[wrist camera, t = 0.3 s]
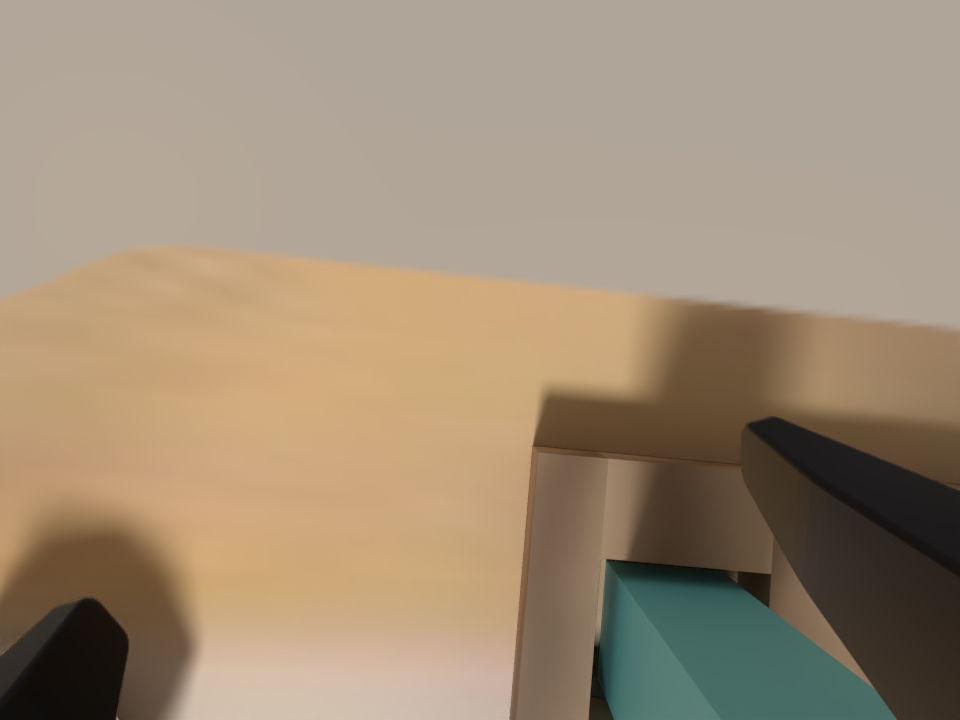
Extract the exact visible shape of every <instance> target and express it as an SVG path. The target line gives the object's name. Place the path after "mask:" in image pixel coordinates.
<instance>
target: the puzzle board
mask: <svg viewBox="0 0 960 720" xmlns="http://www.w3.org/2000/svg"><path fill="white" fill-rule="evenodd" d="M943 484H945V485H948V486H950V487H953V488H955V489H958V490H960V485H959V484H948V483H943ZM601 558H603V559H614V560H624V561H635V562H646V563H657V564H667V565H678V566H689V567H700V568H711V569H721V570H732V571H739V575H738V585H739V586H740V587H742V588H743V589H744V590H746V591H747V592H748V593H750V594H751V595H752V596H753V597H755V598H756V599H757V600H759V601H760V602H761V603H763V604H764V605H765V606H767V607H768V608H769V609H771V610H772V611H773V612H774V613H776V614H777V615H778V616H780V617H781V618H782V619H784V620H785V621H786V622H788V623H789V624H790V625H791V626H793V627H794V628H795V629H797V630H798V631H799V632H801V633H802V634H803V635H805V636H806V637H807V638H809V639H810V640H811V641H812V642H814V643H815V644H816V645H818V646H819V647H820V648H822V649H823V650H824V651H826V652H827V653H828V654H829V655H831V656H832V657H833V658H835V659H836V660H837V661H839V662H840V663H841V664H843V665H844V666H845V667H847V668H848V669H849V670H850V671H852V672H853V673H854V674H856V675H857V676H858V677H860V678H861V679H862V680H864V681H865V682H866V683H868V684H869V685H870V686H871V687H873V686H872V684H871V683H870V681H869V680H868V679H867V677H866V676H865V674H864V673H863V671H862V670H861V669H860V667H859V666H858V664H857V663H856V662H855V660H854V659H853V657H852V656H851V655H850V653H849V652H848V650H847V649H846V647H845V646H844V645H843V643H842V642H841V640H840V639H839V638H838V636H837V635H836V633H835V632H834V631H833V629H832V628H831V626H830V625H829V623H828V622H827V621H826V619H825V618H824V616H823V615H822V614H821V612H820V611H819V609H818V608H817V606H816V605H815V604H814V602H813V601H812V599H811V598H810V596H809V595H808V593H807V592H806V590H805V589H804V587H803V586H802V584H801V583H800V581H799V579H798V578H797V576H796V574H795V573H794V571H793V569H792V567H791V566H790V564H789V562H788V560H787V558H786V557H785V555H784V553H783V551H782V550H781V548H780V546H779V544H778V542H777V541H776V539H775V537H774V535H773V533H772V532H771V530H770V528H769V526H768V525H767V523H766V521H765V519H764V517H763V516H762V514H761V512H760V510H759V508H758V507H757V505H756V503H755V501H754V500H753V498H752V496H751V494H750V492H749V491H748V489H747V487H746V485H745V483H744V480H743V477H742V473H741V465H739V464H728V463H717V462H706V461H695V460H684V459H673V458H662V457H651V456H640V455H629V454H618V453H607V452H596V451H585V450H574V449H563V448H552V447H541V446H533V447H532V459H531V471H530V483H529V495H528V506H527V518H526V530H525V542H524V554H523V566H522V578H521V590H520V601H519V613H518V625H517V637H516V649H515V661H514V673H513V685H512V696H511V708H510V720H614V718H613V715H612V713H611V710H610V708H609V705H608V703H607V700H606V698H597V697H590V692H591V679H592V666H593V654H594V641H595V628H596V615H597V602H598V589H599V576H600V563H601ZM873 688H874V687H873ZM874 689H875V688H874Z"/></svg>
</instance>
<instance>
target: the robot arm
mask: <svg viewBox="0 0 960 720" xmlns="http://www.w3.org/2000/svg"><path fill="white" fill-rule="evenodd" d="M741 473H742V477H743V480H744V483H745V485H746V487H747V489H748V491H749V492H750V494H751V496H752V498H753V500H754V501H755V503H756V505H757V507H758V508H759V510H760V512H761V514H762V516H763V517H764V519H765V521H766V523H767V525H768V526H769V528H770V530H771V532H772V533H773V535H774V537H775V539H776V541H777V542H778V544H779V546H780V548H781V550H782V551H783V553H784V555H785V557H786V558H787V560H788V562H789V564H790V566H791V567H792V569H793V571H794V573H795V574H796V576H797V578H798V579H799V581H800V583H801V584H802V586H803V587H804V589H805V590H806V592H807V593H808V595H809V596H810V598H811V599H812V601H813V602H814V604H815V605H816V606H817V608H818V609H819V611H820V612H821V614H822V615H823V616H824V618H825V619H826V621H827V622H828V623H829V625H830V626H831V628H832V629H833V631H834V632H835V633H836V635H837V636H838V638H839V639H840V640H841V642H842V643H843V645H844V646H845V647H846V649H847V650H848V652H849V653H850V655H851V656H852V657H853V659H854V660H855V662H856V663H857V664H858V666H859V667H860V669H861V670H862V671H863V673H864V674H865V676H866V677H867V679H868V680H869V681H870V683H871V684H872V686H873V687H874V688H875V690H876V691H877V693H878V694H879V695H880V697H881V698H882V700H883V701H884V703H885V704H886V705H887V707H888V708H889V710H890V711H891V712H892V714H893V715H894V717H895V718H896V719H897V720H960V490H958V489H955V488H953V487H950V486H948V485H945V484H943V483H940V482H938V481H935V480H933V479H930V478H928V477H925V476H923V475H921V474H918V473H916V472H913V471H911V470H908V469H906V468H903V467H901V466H898V465H896V464H893V463H891V462H888V461H886V460H883V459H881V458H878V457H876V456H873V455H871V454H868V453H866V452H863V451H861V450H858V449H856V448H853V447H851V446H848V445H846V444H843V443H841V442H838V441H836V440H833V439H831V438H828V437H826V436H823V435H821V434H818V433H816V432H813V431H811V430H808V429H806V428H803V427H801V426H798V425H796V424H793V423H791V422H788V421H786V420H783V419H781V418H778V417H766V418H762V419H759V420H755V421H751V422H748V423H746V424H744V426H743V427H742V431H741ZM128 653H129V639H128V635H127V633H126V631H125V629H124V628H123V627H122V626H121V625H120V623H119V622H118V621H117V620H116V619H115V618H114V616H113V615H112V614H111V613H110V612H109V611H108V610H107V608H106V607H105V606H104V605H103V604H102V603H101V602H100V601H99V600H98V599H96V598H94V597H83V598H80V599H76V600H72V601H68V602H64V603H62V604H60V605H58V606H56V607H55V608H54V609H52V610H51V611H50V612H49V613H48V614H47V615H46V616H45V617H43V618H42V619H41V620H40V621H39V622H38V623H37V624H36V625H35V626H34V627H32V628H31V629H30V630H29V631H28V632H27V633H26V634H25V635H24V636H22V637H21V638H20V639H19V640H18V641H17V642H16V643H15V644H14V645H12V646H11V647H10V648H9V649H8V650H7V651H6V652H5V653H4V654H2V655H1V656H0V720H116V719H117V713H118V708H119V702H120V697H121V691H122V686H123V680H124V675H125V669H126V664H127V658H128Z"/></svg>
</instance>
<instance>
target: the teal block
mask: <svg viewBox="0 0 960 720" xmlns="http://www.w3.org/2000/svg"><path fill="white" fill-rule="evenodd" d="M597 677H598V680H599V682H600V685H601V687H602V690H603V692H604V695H605V698H606V700H607V703H608V705H609V708H610V710H611V713H612V715H613V718H614V720H897V719H896V718H895V717H894V715H893V714H892V712H891V711H890V710H889V708H888V707H887V705H886V704H885V703H884V701H883V700H882V698H881V697H880V695H879V694H878V693H877V691H876V690H875V689H874V688H873V687H871V686H870V685H869V684H868V683H866V682H865V681H864V680H862V679H861V678H860V677H858V676H857V675H856V674H854V673H853V672H852V671H850V670H849V669H848V668H847V667H845V666H844V665H843V664H841V663H840V662H839V661H837V660H836V659H835V658H833V657H832V656H831V655H829V654H828V653H827V652H826V651H824V650H823V649H822V648H820V647H819V646H818V645H816V644H815V643H814V642H812V641H811V640H810V639H809V638H807V637H806V636H805V635H803V634H802V633H801V632H799V631H798V630H797V629H795V628H794V627H793V626H791V625H790V624H789V623H788V622H786V621H785V620H784V619H782V618H781V617H780V616H778V615H777V614H776V613H774V612H773V611H772V610H771V609H769V608H768V607H767V606H765V605H764V604H763V603H761V602H760V601H759V600H757V599H756V598H755V597H753V596H752V595H751V594H750V593H748V592H747V591H746V590H744V589H743V588H742V587H740V586H739V585H738V584H736V583H735V582H734V581H733V580H731V579H730V578H729V577H727V576H726V575H725V574H723V573H722V572H721V571H714V570H704V569H693V568H682V567H671V566H660V565H650V564H639V563H628V562H617V561H607V560H606V570H605V584H604V597H603V610H602V623H601V636H600V649H599V662H598V675H597Z"/></svg>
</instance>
